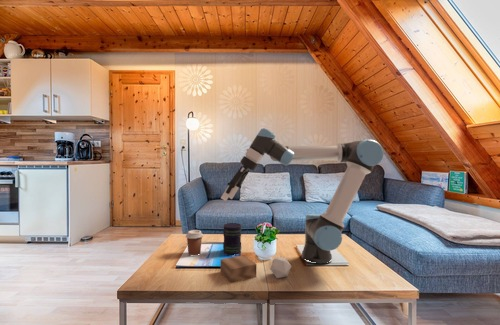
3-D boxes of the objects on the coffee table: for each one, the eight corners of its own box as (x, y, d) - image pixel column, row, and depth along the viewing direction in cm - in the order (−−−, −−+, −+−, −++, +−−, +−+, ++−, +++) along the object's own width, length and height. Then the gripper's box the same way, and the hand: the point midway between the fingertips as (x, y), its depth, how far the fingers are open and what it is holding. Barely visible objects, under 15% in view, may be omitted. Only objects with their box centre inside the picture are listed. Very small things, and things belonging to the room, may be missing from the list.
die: (289, 283, 112) (296, 260, 117) (272, 274, 111) (280, 252, 116) (281, 282, 120) (287, 261, 124) (264, 273, 118) (272, 252, 123)
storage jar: (224, 256, 140) (224, 228, 140) (221, 250, 150) (222, 223, 149) (242, 255, 142) (243, 227, 142) (239, 248, 152) (239, 222, 152)
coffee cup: (182, 253, 144) (182, 231, 143) (197, 249, 150) (197, 228, 149) (190, 258, 137) (190, 235, 136) (206, 254, 143) (206, 232, 142)
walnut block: (244, 267, 127) (244, 255, 127) (256, 277, 116) (256, 264, 116) (220, 272, 121) (220, 259, 121) (231, 283, 111) (231, 269, 111)
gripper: (247, 157, 136) (225, 192, 136) (240, 152, 111) (212, 195, 111) (260, 165, 135) (237, 201, 135) (255, 161, 110) (227, 205, 110)
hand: (226, 198), depth 123 cm, fingers open, 13 cm apart
